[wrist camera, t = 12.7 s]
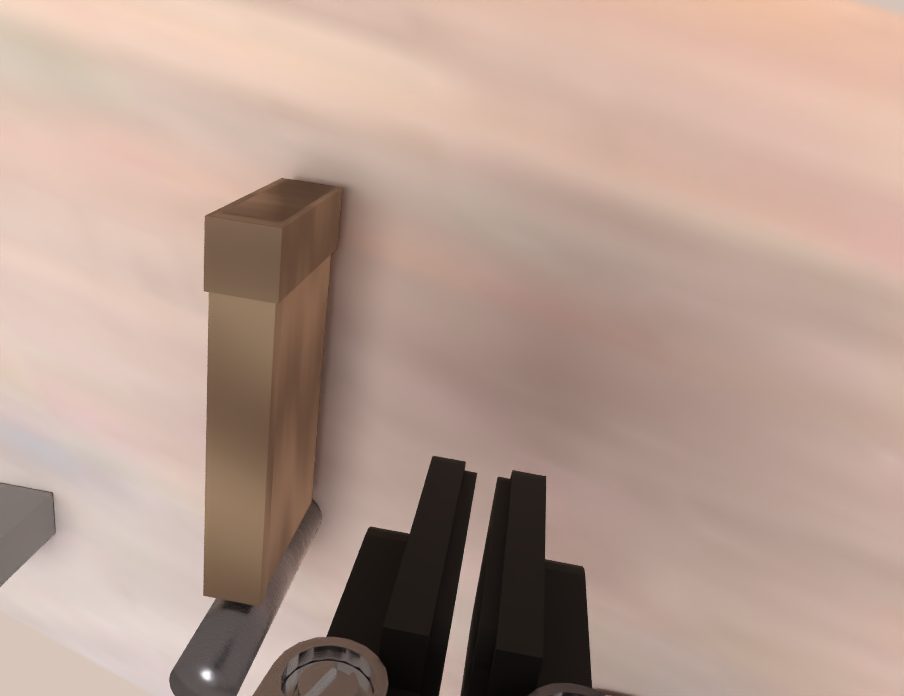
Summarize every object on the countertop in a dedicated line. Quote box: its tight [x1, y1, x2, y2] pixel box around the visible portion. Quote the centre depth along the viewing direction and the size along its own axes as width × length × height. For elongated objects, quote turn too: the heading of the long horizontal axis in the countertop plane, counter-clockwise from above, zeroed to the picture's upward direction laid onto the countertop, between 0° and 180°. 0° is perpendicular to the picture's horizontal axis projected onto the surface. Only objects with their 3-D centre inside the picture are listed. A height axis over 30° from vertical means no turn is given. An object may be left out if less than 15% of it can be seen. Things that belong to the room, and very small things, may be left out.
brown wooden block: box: [203, 178, 342, 607], centre depth 24 cm, size 12×2×6 cm, turn 172°
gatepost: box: [169, 500, 321, 696], centre depth 27 cm, size 2×2×9 cm
